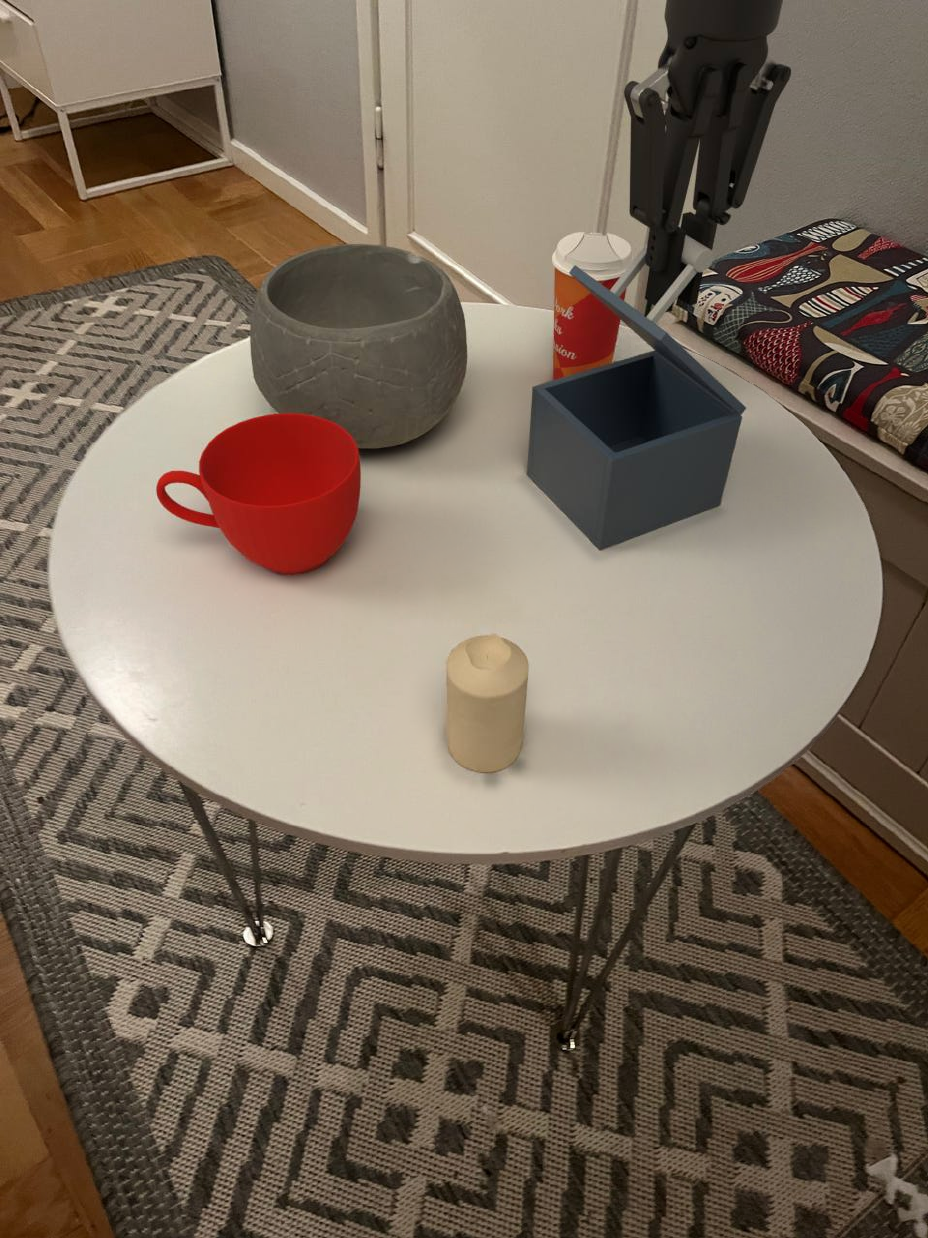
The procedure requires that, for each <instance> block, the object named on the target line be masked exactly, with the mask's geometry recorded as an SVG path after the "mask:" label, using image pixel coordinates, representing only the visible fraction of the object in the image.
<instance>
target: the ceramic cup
mask: <svg viewBox="0 0 928 1238" xmlns="http://www.w3.org/2000/svg"><path fill="white" fill-rule="evenodd" d="M361 469H362V467H361V457H360V451H359V448H358V446H357V444H356V443H355V441H354V439H353V437H352V436H351V435H350V434H349V433H348V432H347V431H346V430H345V429H343V428H342V427H340V426H339V425H337V424H336V423H334V422H331V421H329V420H327V419H324V418H320V417H316V416H312V415H306V414H298V413H280V414H279V413H271V414H264V415H260V416H259V415H258V416H256V417H252V418H251V417H250V418H248V419H245V420H242V421H240V422H237V423H235V424H233V425H231V426H228V427H227V428H225V429H224V430H222V431H221V432H219V433H217V435H215V436H214V437H213V438H212V439H211V440H210V441H209V442H208V443H207V445H206V446H205V448H204V449H203V450H202V453H201V455H200V458H199V461H198V474H197V473H194V472H190V471H186V470H170V471H167V472H165V473H163V474H162V475H161V476H160V478H159V479H158V481H157V482H156V489H155V492H156V496H157V499H158V501H159V503H160V504H161V506H162V507H163V508H164V509H166V511H168V512H169V513H170V514H171V515H174V516H175V517H177V518H179V519H181V520H184V521H186V522H189V523H193V524H195V525H199V526H200V525H201V526H205V527H211V528H216V529H220V531H221V533H222V534H223V535H224V537H225V538H226V539H227V541H228V542H229V544H230V545H231V546H232V547H233V548H234V549H235V550H236V551H238V552H239V553H240V555H242V556H243V557H244V558H246V559H248V560H249V561H250V562H253V563H254V564H256V565H258V566H260V567H262V568H265V569H266V570H269V572H273V573H275V574H279V575H292V576H293V575H300V574H301V575H302V574H305V573H309V572H312V571H313V570H315V569H318V568H320V567H321V566H322V565H323V564H324V563H325V562H326V561H328V559H329V558H330V557H332V556H333V555H334V554H335V553H336V552H337V551H338V550H339V549H340V547H341V546H342V545H343V544H344V543H345V541H346V540H347V538H348V537H349V534H350V532H351V530H352V528H353V526H354V523H355V520H356V518H357V515H358V510H359V504H360V503H359V502H360V496H361V481H362V480H361V479H362V478H361V477H362V476H361V475H362V472H361V471H362V470H361ZM171 484H185V485H189V486H192V487H194V488H195V489H196V490H198V492H200V493H201V494H202V496H203V497H204V498H205V500H206V501H207V503H208V505H209V507H210V510H211V513H212V514H211V513H206V512H202V511H197V510H194V509H191V508H188V507H185V506H183V505H181V504H180V503H178V502H177V501H175V500H174V499H173V498H172V497H171V496H170V495H169V494H168V492H167V490H166V487H167V486H168V485H171Z"/></svg>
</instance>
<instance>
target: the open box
mask: <svg viewBox="0 0 928 1238" xmlns="http://www.w3.org/2000/svg"><path fill="white" fill-rule="evenodd" d="M529 420H530V421H529V433H528V434H529V436H528V448H527V449H528V452H527V465H526V466H527V467H526V475H527V476H528V478H529V479H530V480H532V482H533V483H534V484H535V485H536V486H537V487H538V488H539V489H540V490H541V491H542V492H543V493H544V494H545V495H546V496H547V497H548V498H549V500H550V501H552V502H553V503H554V504H555V506H556V507H558V509H559V510H560V511H561V512H562V513H563V514H564V515H565V516H566V518H568V519H569V520H570V521H571V522H572V523H573V524H574V525H575V527H576V528H577V529H579V530H580V532H581V533H582V534H584V536H585V537H586V538H587V539H588V540H589V542H591V543H592V544H593V545H594V546H595V547H596V548H597V549H598V550H599V551H603V550H605V549H607V548H610V547H613V546H615V545H618V544H620V543H624V542H626V541H629V540H632V539H634V538H637V537H640V536H642V535H644V534H647V533H650V532H653V531H655V530H658V529H661V528H664V527H666V526H668V525H671V524H674V523H676V522H679V521H683V520H684V519H688V518H690V517H692V516H695V515H698V514H700V513H704V512H706V511H709V510H711V509H714V508H717V507H718V506H719V507H720V506H721V503H722V500H723V495H724V491H725V487H726V483H727V479H728V475H729V471H730V467H731V464H732V459H733V455H734V452H735V449H736V448H735V447H736V444H737V440H738V436H739V432H740V428H741V425H742V420H743V416H742V414H741V415H739V414H738V413H737V412H735V411H734V410H733V409H731V408H730V407H729V406H727V405H726V404H725V403H724V402H722V401H721V400H720V399H718V398H717V397H716V396H714V395H713V394H712V393H710V392H709V391H708V390H706V389H705V388H704V387H703V386H701V385H700V384H699V383H697V382H696V381H695V380H693V379H692V378H691V377H689V376H688V375H687V374H686V373H684V372H683V371H682V370H680V369H679V368H678V367H676V366H675V365H674V364H672V363H671V362H670V361H668V360H667V359H666V358H665V357H663V356H662V355H661V354H659V353H658V352H657V351H655V350H654V349H653V350H651V351H648V352H644V353H640V354H638V355H634V356H630V357H627V358H624V359H621V360H617V361H612V363H610V364H607V365H603V366H600V367H597V368H593V369H590V370H587V371H583V372H580V373H576V374H573V375H570V376H566V377H563V378H560V379H556V380H554V379H552V380H549V381H546V382H544V383H540V384H536V385H533V386H532V391H531V405H530V418H529Z"/></svg>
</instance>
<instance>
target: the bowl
mask: <svg viewBox="0 0 928 1238" xmlns="http://www.w3.org/2000/svg"><path fill="white" fill-rule="evenodd" d="M249 325H250V326H249V327H250V329H249V338H250V339H249V344H250V358H251V367H252V375H253V379H254V381H255V384H256V386H257V388H258V390H259V391H260V393H261V395H262V396H263V399H265V400H266V402H267V403H268V404H269V405H270V407H271V408H273V410H274V411H276V413H277V414H280V413H298V414H306V415H312V416H316V417H320V418H324V419H327V420H329V421H331V422H334V423H336V424H337V425H339V426H340V427H342V428H343V429H345V430H346V431H347V432H348V433H349V434H350V435H351V436H352V437H353V439H354V441H355V443H356V444H357V446H358V449H381V448H390V447H394V446H398V445H403V444H405V443H408V442H410V441H413V440H414V439H417V438H419V437H421V436H422V435H424V434H426V433H428V431H429V432H430V430H432V429H433V428H435V426H436V425H437V424H438V423H439V422H440V421H442V419H443V418H445V416H446V415H447V414H448V412H449V411H450V410H451V409H452V407H453V405H454V404H455V402H456V401H457V399H458V396H459V394H460V393H461V391H462V390H461V389H462V387H463V384H464V381H465V378H466V373H467V366H468V365H467V364H468V344H467V325H466V318H465V313H464V309H463V305H462V303H461V300H460V297H459V295H458V292H457V289H456V288H455V285H454V284H453V282H452V279H451V278H450V277H449V275H448V274H447V273H446V272H445V271H444V270H443V269H441V268H440V266H438V265H437V264H435V263H434V262H432V261H431V260H429V259H427V258H425V257H423V256H420V255H417V254H415V253H413V252H411V251H409V250H406V249H405V250H404V249H401V248H397V247H392V246H387V245H382V244H369V243H341V244H334V245H327V246H320V247H316V248H315V247H314V248H312V249H308V250H305V251H303V252H300V253H297V254H295V255H293V256H291V257H288V258H286V259H285V260H283V261H281V262H280V263H278V264H277V265H275V266H274V267H273V268H271V269H270V270H269V271H268V272H267V273H266V275H265V276H264V278H263V280H262V281H261V283H260V284H259V287H258V290H257V293H256V296H255V300H254V304H253V307H252V312H251V319H250V324H249Z"/></svg>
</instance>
